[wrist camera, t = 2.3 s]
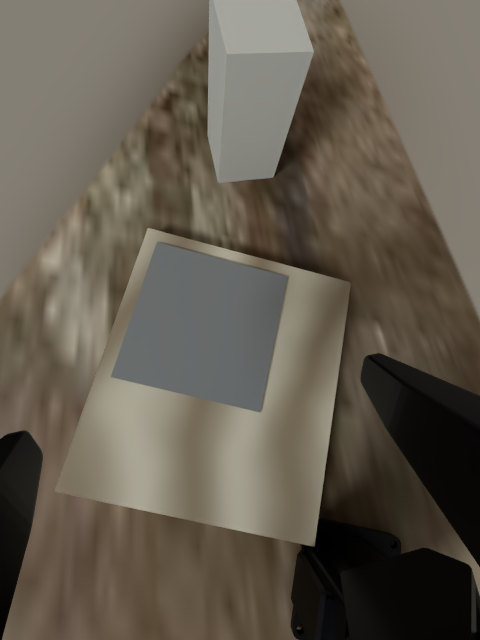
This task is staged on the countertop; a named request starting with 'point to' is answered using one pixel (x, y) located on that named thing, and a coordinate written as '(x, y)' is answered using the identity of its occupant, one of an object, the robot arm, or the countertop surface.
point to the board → (214, 392)
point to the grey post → (253, 83)
